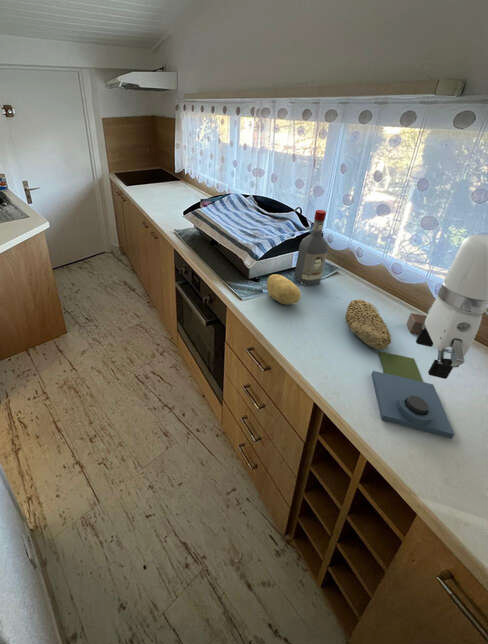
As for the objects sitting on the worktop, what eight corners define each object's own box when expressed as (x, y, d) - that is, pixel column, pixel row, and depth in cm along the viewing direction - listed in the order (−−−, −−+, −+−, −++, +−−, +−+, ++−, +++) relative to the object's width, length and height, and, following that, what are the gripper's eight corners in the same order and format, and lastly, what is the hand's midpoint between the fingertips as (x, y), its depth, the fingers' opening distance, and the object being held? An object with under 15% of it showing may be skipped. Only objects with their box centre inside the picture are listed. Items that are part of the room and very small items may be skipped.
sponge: (342, 311, 111) (339, 336, 94) (352, 293, 108) (351, 315, 91) (381, 329, 106) (385, 358, 89) (393, 310, 103) (399, 337, 86)
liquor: (291, 275, 131) (303, 208, 117) (310, 272, 132) (324, 206, 118) (302, 286, 123) (316, 216, 109) (323, 284, 124) (339, 214, 110)
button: (422, 402, 73) (425, 398, 72) (428, 417, 70) (431, 412, 69) (403, 398, 74) (406, 393, 73) (408, 412, 71) (410, 407, 70)
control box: (430, 388, 80) (435, 379, 79) (451, 439, 68) (458, 429, 67) (371, 374, 84) (374, 365, 83) (381, 419, 73) (385, 410, 71)
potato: (273, 312, 109) (276, 289, 104) (263, 289, 122) (266, 268, 117) (301, 311, 109) (305, 289, 104) (289, 288, 122) (292, 268, 117)
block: (422, 326, 101) (427, 315, 99) (426, 336, 97) (431, 324, 95) (406, 323, 103) (410, 313, 101) (410, 332, 99) (414, 321, 97)
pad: (413, 359, 89) (413, 358, 89) (423, 384, 81) (423, 382, 81) (378, 352, 92) (379, 351, 91) (384, 375, 84) (385, 374, 84)
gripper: (509, 329, 52) (465, 396, 60) (468, 278, 66) (437, 338, 74) (456, 319, 54) (420, 384, 62) (427, 272, 68) (401, 330, 76)
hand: (429, 359), depth 68 cm, fingers open, 9 cm apart
